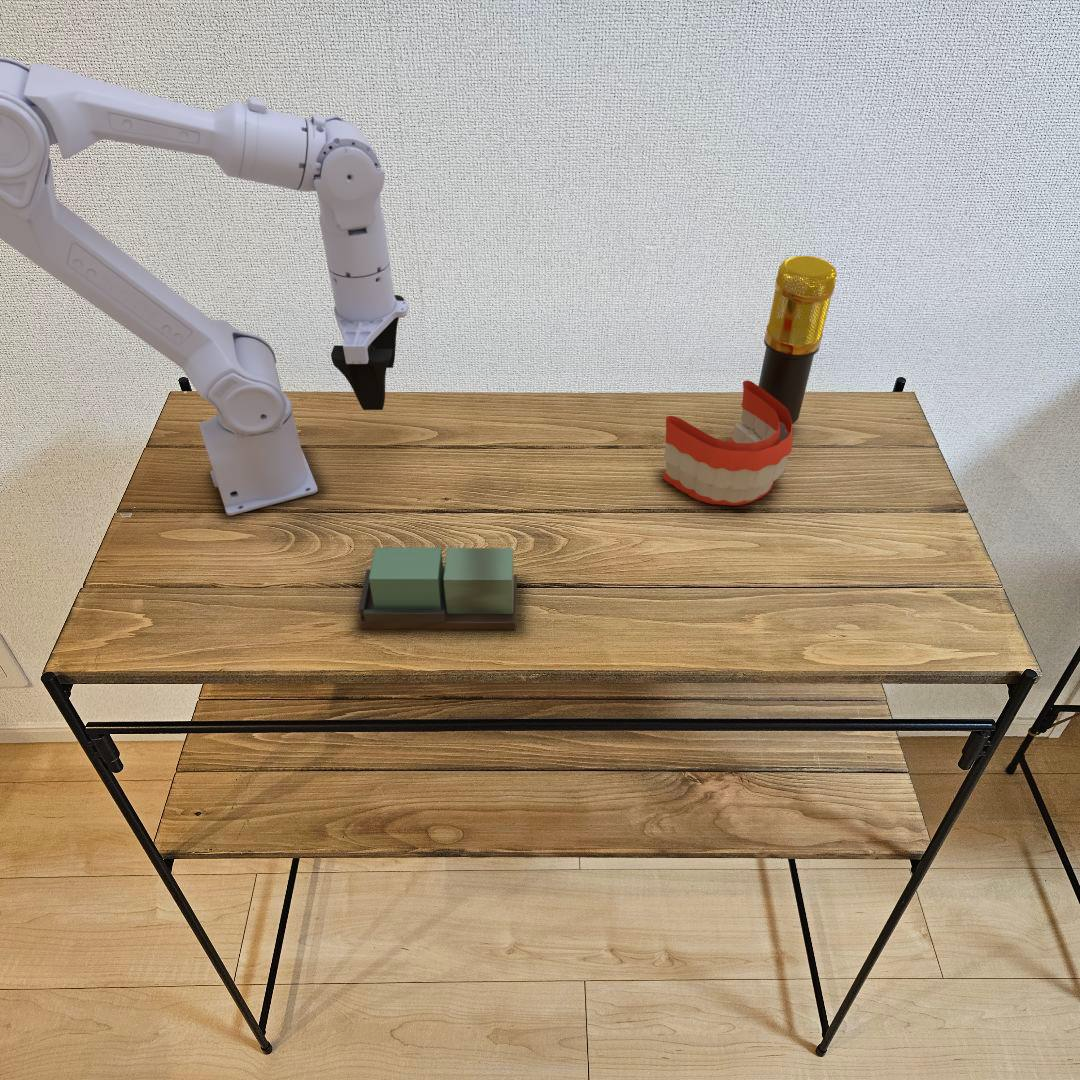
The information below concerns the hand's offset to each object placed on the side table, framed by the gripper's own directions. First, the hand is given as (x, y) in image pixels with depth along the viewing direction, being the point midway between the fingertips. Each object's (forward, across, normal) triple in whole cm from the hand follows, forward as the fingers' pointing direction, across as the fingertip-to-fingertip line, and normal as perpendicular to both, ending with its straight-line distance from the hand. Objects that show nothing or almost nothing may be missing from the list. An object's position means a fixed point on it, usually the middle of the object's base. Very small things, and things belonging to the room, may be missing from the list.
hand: (378, 386), depth 92 cm
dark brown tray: (+9, -22, -8) cm, 25 cm away
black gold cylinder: (+10, +7, -47) cm, 49 cm away
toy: (+10, -4, -37) cm, 39 cm away
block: (+8, -22, -5) cm, 24 cm away
